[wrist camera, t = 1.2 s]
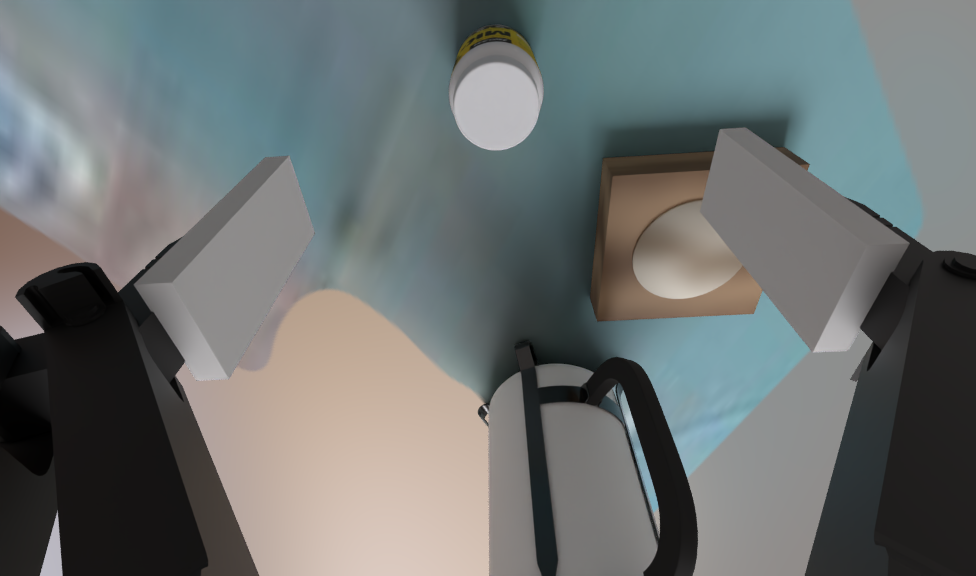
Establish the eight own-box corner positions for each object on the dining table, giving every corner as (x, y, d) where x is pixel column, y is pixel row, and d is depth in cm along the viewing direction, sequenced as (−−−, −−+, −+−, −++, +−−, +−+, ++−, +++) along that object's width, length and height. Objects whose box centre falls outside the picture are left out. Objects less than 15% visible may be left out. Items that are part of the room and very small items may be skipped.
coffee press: (647, 415, 48) (813, 896, 24) (501, 447, 51) (516, 898, 27) (617, 290, 38) (848, 896, 14) (439, 339, 41) (373, 899, 17)
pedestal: (602, 157, 31) (613, 177, 28) (784, 146, 31) (811, 165, 28) (590, 297, 38) (597, 323, 36) (736, 290, 38) (754, 315, 35)
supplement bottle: (510, 5, 26) (518, 27, 19) (547, 82, 28) (567, 126, 21) (439, 54, 27) (424, 90, 20) (481, 123, 30) (479, 176, 23)
